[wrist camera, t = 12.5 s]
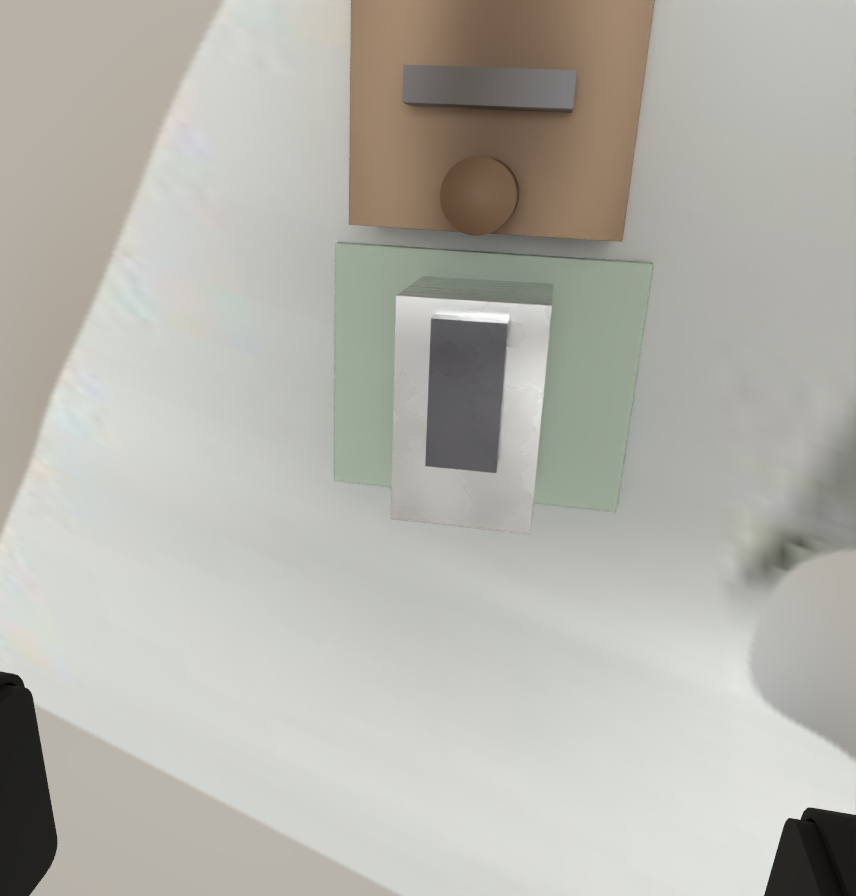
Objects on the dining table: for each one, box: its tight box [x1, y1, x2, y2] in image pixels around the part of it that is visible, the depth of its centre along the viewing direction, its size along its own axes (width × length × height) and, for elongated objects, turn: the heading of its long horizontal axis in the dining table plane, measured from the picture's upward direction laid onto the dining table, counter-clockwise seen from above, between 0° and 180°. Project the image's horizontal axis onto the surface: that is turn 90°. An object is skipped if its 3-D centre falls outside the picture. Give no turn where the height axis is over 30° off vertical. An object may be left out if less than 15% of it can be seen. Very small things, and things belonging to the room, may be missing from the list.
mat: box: [334, 242, 653, 512], centre depth 30 cm, size 12×10×1 cm
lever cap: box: [391, 276, 554, 534], centre depth 27 cm, size 5×8×6 cm, turn 178°
